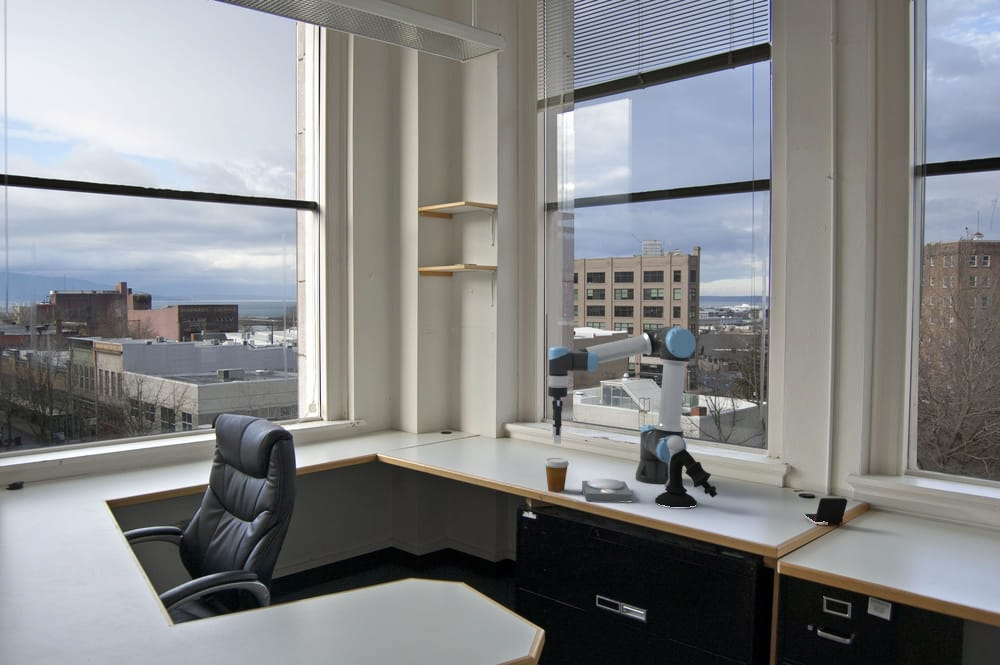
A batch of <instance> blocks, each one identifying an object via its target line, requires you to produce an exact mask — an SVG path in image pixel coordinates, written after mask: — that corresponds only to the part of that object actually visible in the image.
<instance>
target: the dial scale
mask: <svg viewBox="0 0 1000 665" xmlns="http://www.w3.org/2000/svg"><path fill="white" fill-rule="evenodd" d="M581 489H582V493H583V492H584V493H583V496H584V499H585V501H586V502H592V501H632V502H633V493H632V491H631V489H630V488H629V487H628V484H627V483H626V481H621V480H618V479H614V478H613V479H612V478H611V479H610V478H593V479H589V480H581Z"/></svg>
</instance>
